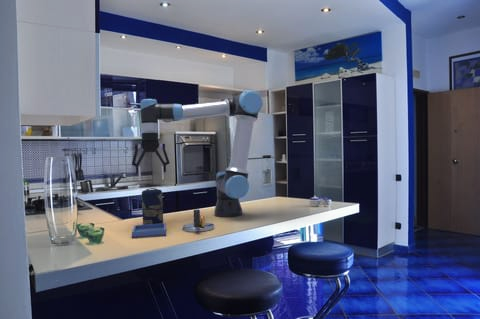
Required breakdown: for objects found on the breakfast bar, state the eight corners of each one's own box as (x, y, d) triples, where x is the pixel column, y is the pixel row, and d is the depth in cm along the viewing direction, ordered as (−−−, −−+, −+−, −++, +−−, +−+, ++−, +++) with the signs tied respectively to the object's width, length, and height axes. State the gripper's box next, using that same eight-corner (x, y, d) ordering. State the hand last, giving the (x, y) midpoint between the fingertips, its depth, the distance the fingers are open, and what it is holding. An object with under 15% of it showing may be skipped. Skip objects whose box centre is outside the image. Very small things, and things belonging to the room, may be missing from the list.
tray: (165, 228, 168) (165, 223, 168) (166, 235, 153) (165, 229, 153) (134, 230, 165) (134, 225, 165) (131, 238, 151) (131, 232, 151)
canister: (158, 228, 169) (156, 188, 169) (139, 227, 171) (137, 189, 171) (166, 224, 179) (165, 186, 178) (148, 223, 181) (146, 186, 180)
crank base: (212, 224, 174) (211, 210, 173) (216, 230, 160) (215, 215, 160) (181, 226, 171) (181, 212, 171) (183, 233, 157) (182, 218, 157)
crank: (194, 224, 167) (193, 206, 167) (202, 223, 167) (202, 205, 167) (192, 230, 155) (191, 210, 155) (201, 229, 155) (201, 210, 155)
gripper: (173, 132, 180) (175, 178, 180) (125, 133, 175) (127, 180, 176) (174, 131, 172) (176, 179, 173) (123, 132, 168) (125, 181, 169)
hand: (151, 180), depth 174 cm, fingers open, 10 cm apart
